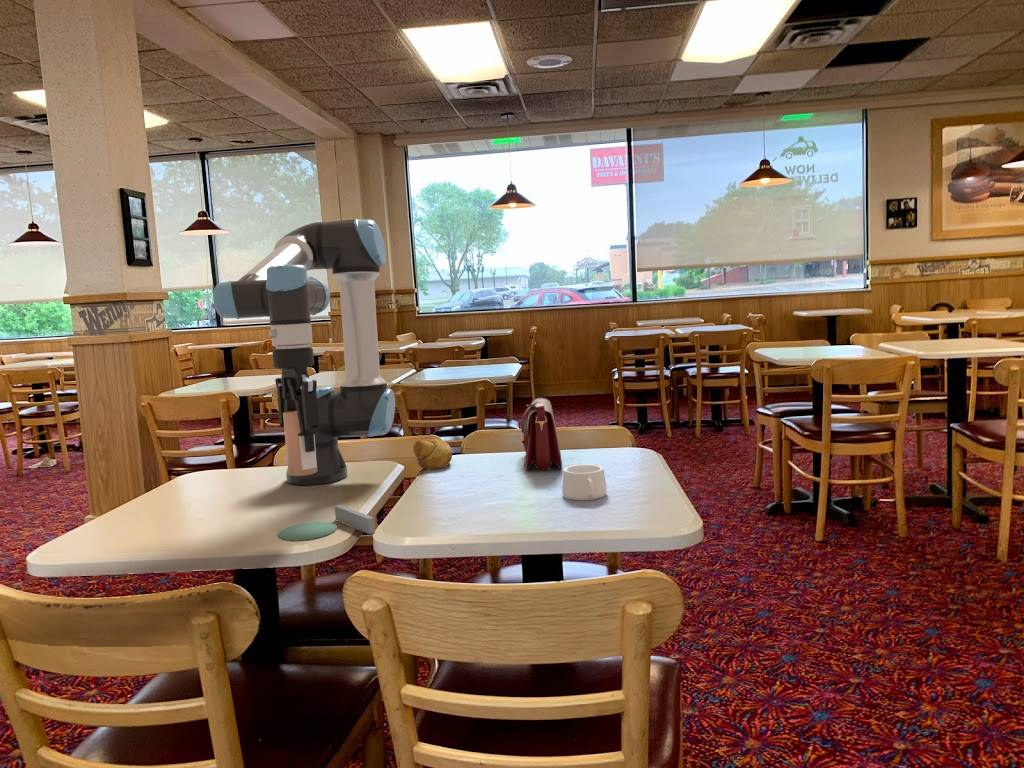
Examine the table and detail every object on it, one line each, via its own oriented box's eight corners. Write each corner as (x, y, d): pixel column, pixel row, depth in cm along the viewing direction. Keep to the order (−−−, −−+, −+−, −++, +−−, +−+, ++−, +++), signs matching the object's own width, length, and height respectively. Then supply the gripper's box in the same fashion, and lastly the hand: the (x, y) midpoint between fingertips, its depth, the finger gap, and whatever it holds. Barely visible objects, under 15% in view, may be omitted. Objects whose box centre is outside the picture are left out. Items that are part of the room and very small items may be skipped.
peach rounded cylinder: (283, 473, 147) (278, 412, 146) (310, 468, 151) (305, 408, 149) (295, 477, 143) (290, 414, 142) (322, 471, 147) (317, 410, 145)
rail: (335, 520, 155) (334, 505, 155) (340, 518, 156) (339, 504, 156) (369, 534, 145) (368, 518, 144) (374, 532, 145) (373, 517, 145)
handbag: (522, 452, 214) (519, 391, 212) (559, 450, 214) (557, 389, 212) (520, 475, 187) (516, 405, 185) (563, 473, 186) (559, 403, 184)
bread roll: (423, 460, 210) (421, 432, 209) (458, 459, 209) (456, 431, 208) (412, 471, 197) (410, 441, 196) (449, 470, 196) (447, 440, 195)
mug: (558, 492, 169) (557, 465, 168) (600, 488, 170) (599, 462, 169) (569, 506, 157) (568, 477, 156) (615, 502, 158) (614, 474, 158)
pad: (270, 532, 149) (269, 530, 149) (321, 519, 156) (321, 518, 156) (293, 544, 141) (293, 542, 141) (346, 530, 148) (346, 528, 148)
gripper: (254, 347, 149) (265, 463, 151) (294, 349, 135) (304, 476, 137) (291, 344, 154) (300, 457, 156) (332, 345, 140) (342, 469, 142)
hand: (302, 465), depth 147 cm, fingers closed on peach rounded cylinder, 5 cm apart
